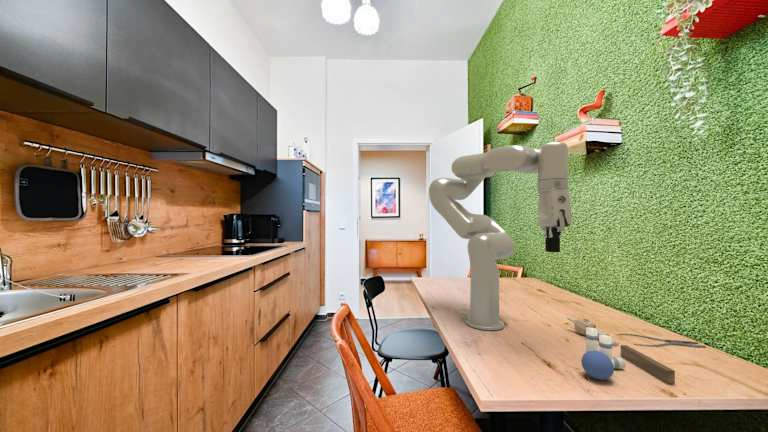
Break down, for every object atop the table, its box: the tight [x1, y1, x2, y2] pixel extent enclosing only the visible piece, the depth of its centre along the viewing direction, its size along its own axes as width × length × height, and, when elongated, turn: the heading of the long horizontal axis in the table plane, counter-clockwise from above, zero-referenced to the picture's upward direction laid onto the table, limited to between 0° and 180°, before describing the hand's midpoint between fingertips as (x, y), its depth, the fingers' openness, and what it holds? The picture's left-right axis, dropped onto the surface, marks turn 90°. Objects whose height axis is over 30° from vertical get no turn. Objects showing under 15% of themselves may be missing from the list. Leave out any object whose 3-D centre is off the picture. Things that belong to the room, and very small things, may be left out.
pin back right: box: [598, 334, 613, 361], centre depth 71 cm, size 2×2×8 cm
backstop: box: [620, 344, 676, 385], centre depth 73 cm, size 2×14×3 cm, turn 177°
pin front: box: [612, 356, 626, 370], centre depth 73 cm, size 2×2×8 cm
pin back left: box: [585, 327, 599, 353], centre depth 76 cm, size 2×2×8 cm
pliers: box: [618, 333, 707, 349], centre depth 91 cm, size 10×1×20 cm
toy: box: [566, 316, 620, 347], centre depth 94 cm, size 10×5×15 cm
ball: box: [581, 350, 615, 381], centre depth 68 cm, size 6×6×6 cm
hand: (552, 251), depth 85 cm, fingers closed
